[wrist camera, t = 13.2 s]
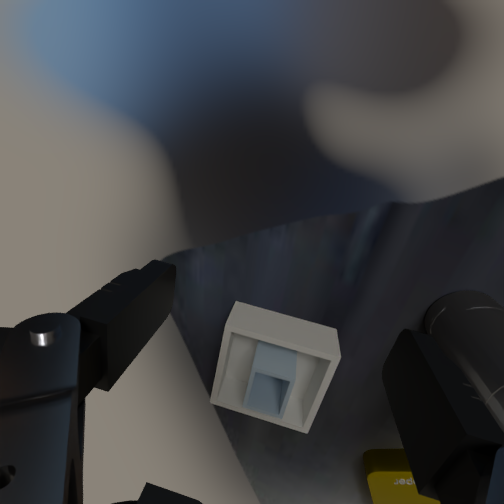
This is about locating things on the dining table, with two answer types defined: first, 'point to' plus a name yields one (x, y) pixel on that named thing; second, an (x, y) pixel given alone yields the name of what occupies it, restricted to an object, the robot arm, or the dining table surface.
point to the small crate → (271, 379)
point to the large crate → (286, 335)
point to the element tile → (392, 478)
